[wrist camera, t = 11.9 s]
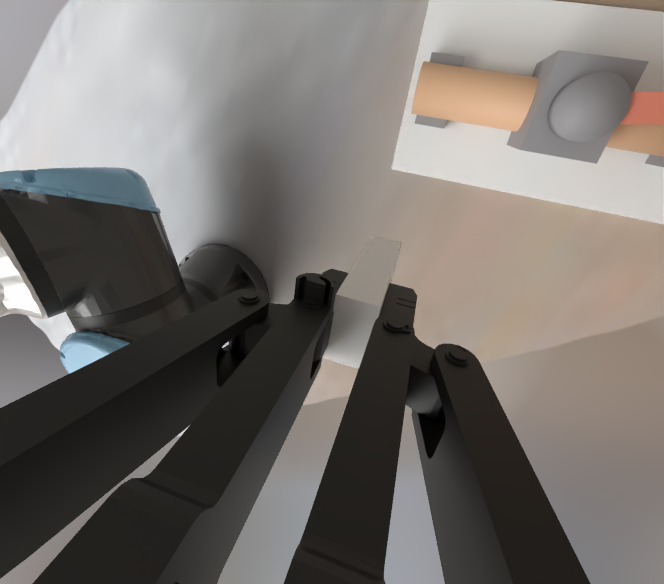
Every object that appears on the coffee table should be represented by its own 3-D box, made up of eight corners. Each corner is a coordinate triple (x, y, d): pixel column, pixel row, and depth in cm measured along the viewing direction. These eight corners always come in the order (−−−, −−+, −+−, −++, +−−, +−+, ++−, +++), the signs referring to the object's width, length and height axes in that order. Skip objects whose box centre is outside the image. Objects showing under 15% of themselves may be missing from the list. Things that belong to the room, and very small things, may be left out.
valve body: (392, 168, 39) (382, 178, 33) (432, -9, 32) (429, -44, 25) (658, 221, 35) (712, 246, 28) (784, 28, 27) (902, -4, 20)
